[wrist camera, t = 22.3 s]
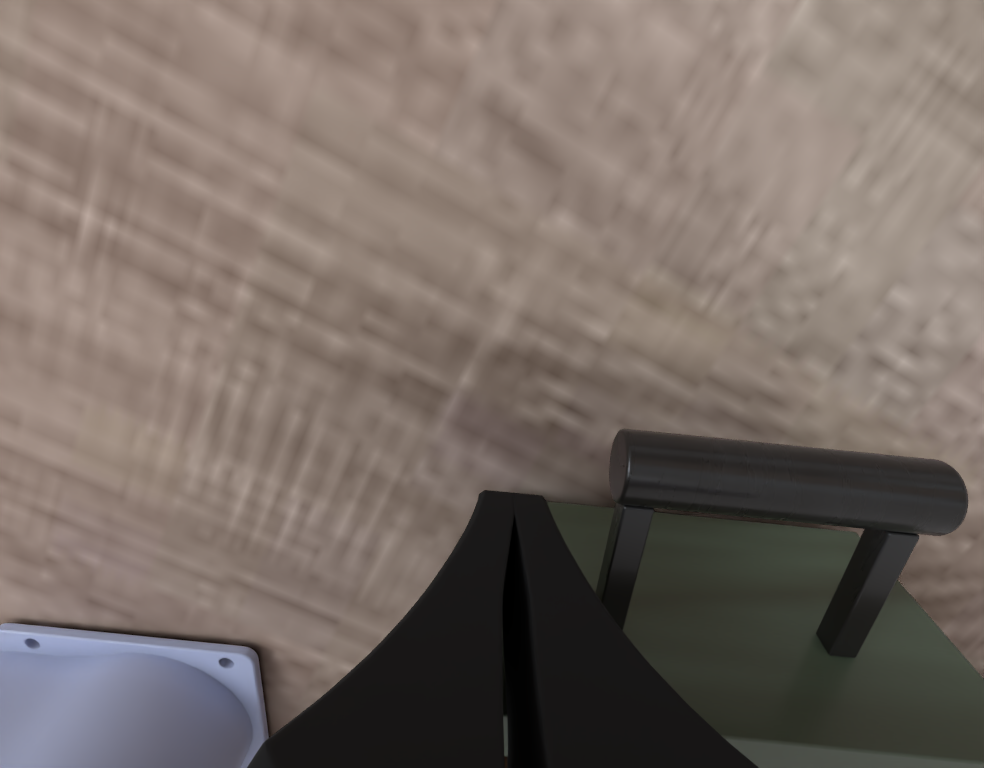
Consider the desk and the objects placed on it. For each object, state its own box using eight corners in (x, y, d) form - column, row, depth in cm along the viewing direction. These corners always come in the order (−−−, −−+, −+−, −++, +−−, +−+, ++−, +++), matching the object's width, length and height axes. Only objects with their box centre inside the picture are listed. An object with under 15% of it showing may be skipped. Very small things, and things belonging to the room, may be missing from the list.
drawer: (499, 342, 14) (486, 495, 8) (924, 384, 14) (1241, 571, 8) (456, 771, 21) (432, 1019, 15) (731, 799, 21) (816, 1058, 15)
